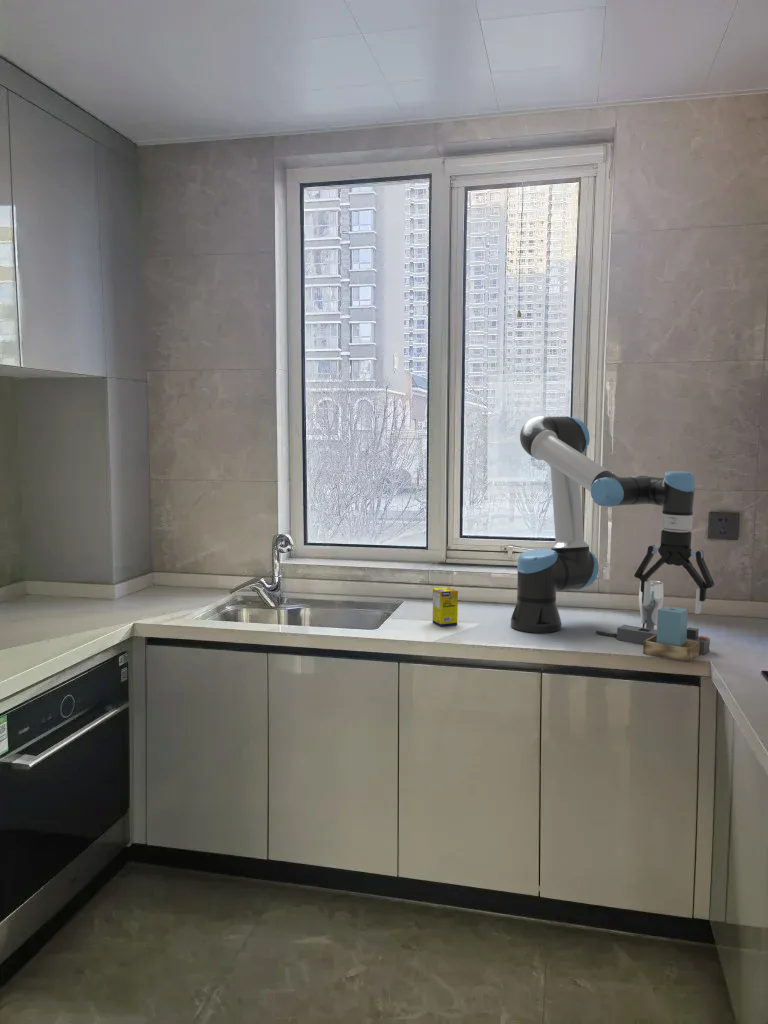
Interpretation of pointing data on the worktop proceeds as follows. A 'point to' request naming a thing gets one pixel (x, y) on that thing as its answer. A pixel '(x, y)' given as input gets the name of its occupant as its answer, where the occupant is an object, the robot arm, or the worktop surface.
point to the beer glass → (651, 605)
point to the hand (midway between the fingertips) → (671, 608)
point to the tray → (672, 649)
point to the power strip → (642, 634)
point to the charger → (672, 626)
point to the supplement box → (445, 606)
